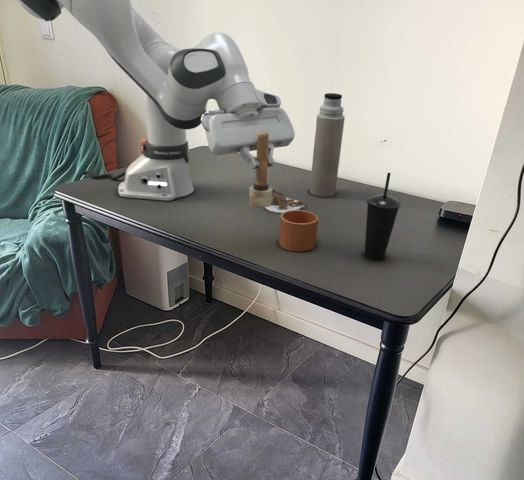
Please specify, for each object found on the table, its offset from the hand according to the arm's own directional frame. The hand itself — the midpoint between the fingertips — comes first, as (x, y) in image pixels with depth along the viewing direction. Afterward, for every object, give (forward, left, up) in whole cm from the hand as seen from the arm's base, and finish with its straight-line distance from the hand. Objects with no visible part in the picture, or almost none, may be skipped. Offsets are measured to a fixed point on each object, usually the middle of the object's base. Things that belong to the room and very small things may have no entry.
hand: (263, 166), depth 111 cm
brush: (0, 0, -8) cm, 8 cm away
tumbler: (+10, +7, -21) cm, 24 cm away
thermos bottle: (+23, +45, -21) cm, 54 cm away
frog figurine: (+9, +33, -21) cm, 40 cm away
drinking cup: (+28, 0, -21) cm, 35 cm away
